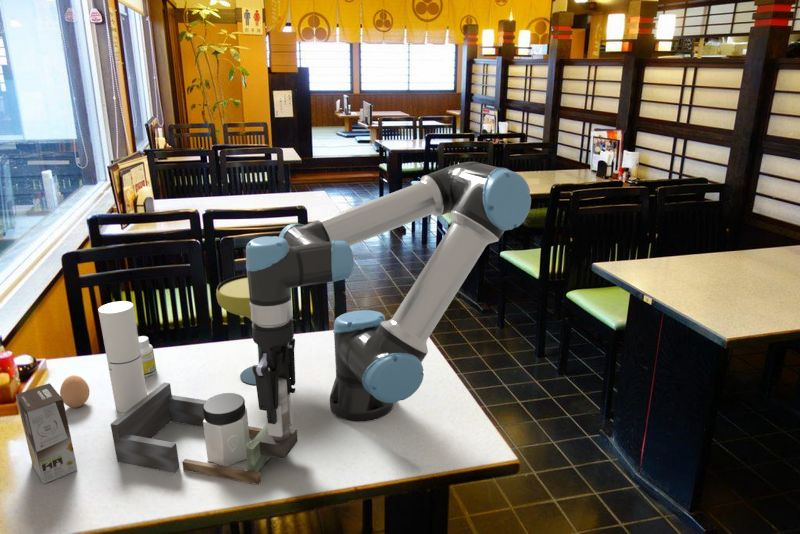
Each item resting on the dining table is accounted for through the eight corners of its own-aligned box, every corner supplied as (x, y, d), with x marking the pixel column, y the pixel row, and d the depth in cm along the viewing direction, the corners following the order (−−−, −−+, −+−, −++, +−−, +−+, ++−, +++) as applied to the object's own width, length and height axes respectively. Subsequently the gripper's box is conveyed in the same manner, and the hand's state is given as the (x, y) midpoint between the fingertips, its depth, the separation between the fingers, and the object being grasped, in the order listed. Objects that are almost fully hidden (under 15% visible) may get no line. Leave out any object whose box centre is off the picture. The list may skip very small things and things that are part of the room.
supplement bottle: (134, 370, 157) (128, 336, 154) (156, 366, 159) (151, 333, 156) (134, 379, 152) (128, 345, 149) (157, 375, 154) (151, 341, 151)
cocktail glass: (262, 399, 142) (253, 303, 135) (210, 380, 151) (199, 289, 144) (310, 369, 157) (305, 280, 149) (260, 353, 166) (253, 268, 158)
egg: (57, 409, 139) (51, 379, 136) (80, 397, 144) (74, 368, 141) (75, 415, 136) (68, 385, 134) (97, 402, 141) (91, 373, 139)
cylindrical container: (133, 414, 136) (116, 315, 129) (108, 409, 139) (90, 311, 131) (154, 399, 143) (140, 303, 135) (131, 394, 145) (115, 299, 137)
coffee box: (79, 469, 118) (64, 399, 113) (43, 485, 113) (26, 412, 108) (64, 449, 124) (50, 382, 119) (30, 463, 120) (13, 393, 115)
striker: (303, 446, 124) (298, 370, 118) (280, 480, 114) (273, 398, 108) (274, 441, 126) (268, 365, 120) (248, 474, 116) (240, 393, 110)
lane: (293, 437, 128) (290, 401, 125) (255, 488, 112) (251, 448, 109) (169, 417, 135) (164, 382, 133) (117, 462, 120) (110, 424, 117)
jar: (214, 471, 117) (207, 419, 113) (202, 450, 123) (195, 400, 120) (257, 456, 122) (252, 405, 118) (243, 436, 128) (238, 388, 124)
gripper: (274, 302, 118) (281, 404, 126) (230, 336, 103) (242, 450, 110) (308, 305, 116) (314, 409, 124) (270, 341, 101) (279, 457, 108)
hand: (280, 428), depth 117 cm, fingers closed on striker, 4 cm apart
